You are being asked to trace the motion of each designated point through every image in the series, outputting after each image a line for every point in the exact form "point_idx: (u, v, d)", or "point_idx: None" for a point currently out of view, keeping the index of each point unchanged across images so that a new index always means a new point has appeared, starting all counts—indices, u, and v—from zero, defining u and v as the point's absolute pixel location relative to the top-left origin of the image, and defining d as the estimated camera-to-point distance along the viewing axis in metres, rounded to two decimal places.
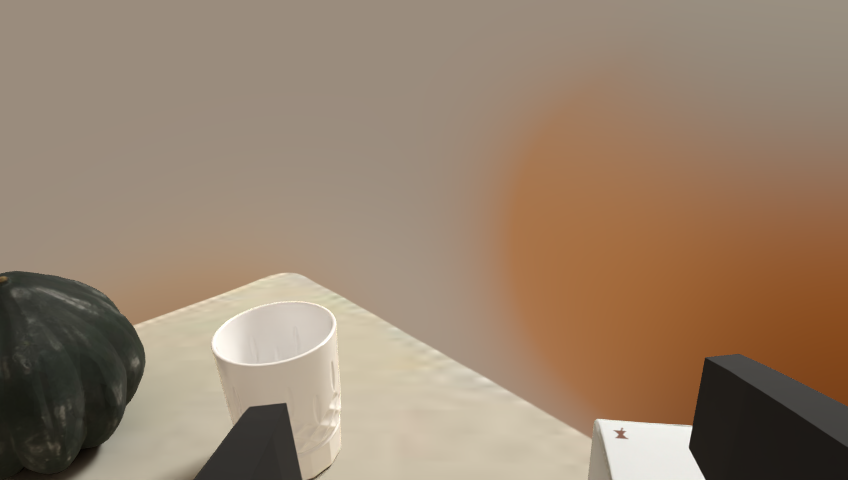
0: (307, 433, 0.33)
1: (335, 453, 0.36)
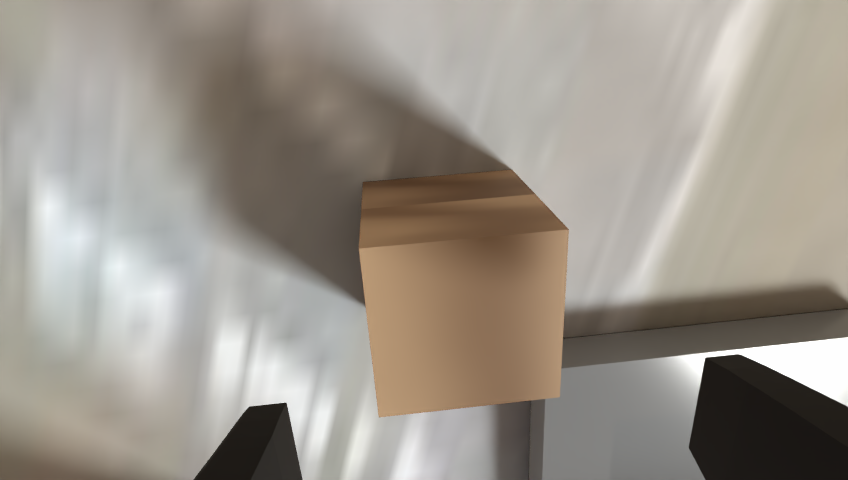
0: None
1: None
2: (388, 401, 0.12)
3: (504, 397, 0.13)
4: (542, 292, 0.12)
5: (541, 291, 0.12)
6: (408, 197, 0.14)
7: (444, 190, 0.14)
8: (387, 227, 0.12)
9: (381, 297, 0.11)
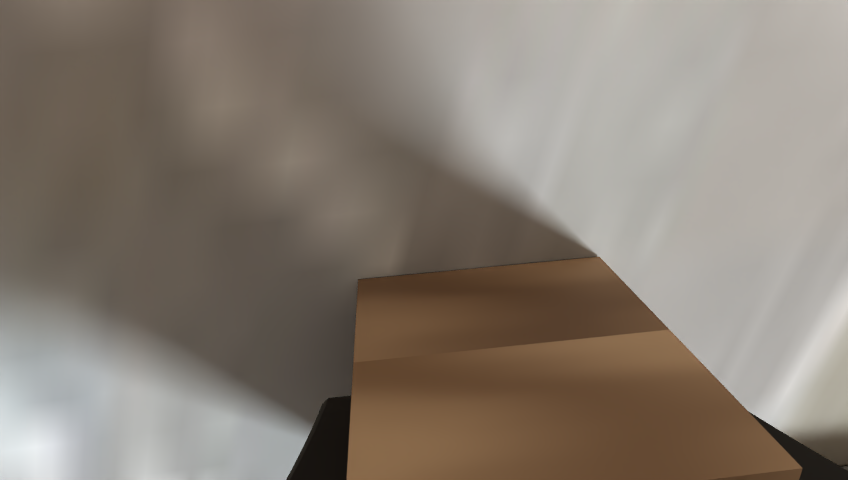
0: None
1: None
2: None
3: None
4: None
5: None
6: (438, 330, 0.08)
7: (499, 310, 0.08)
8: (406, 433, 0.06)
9: None
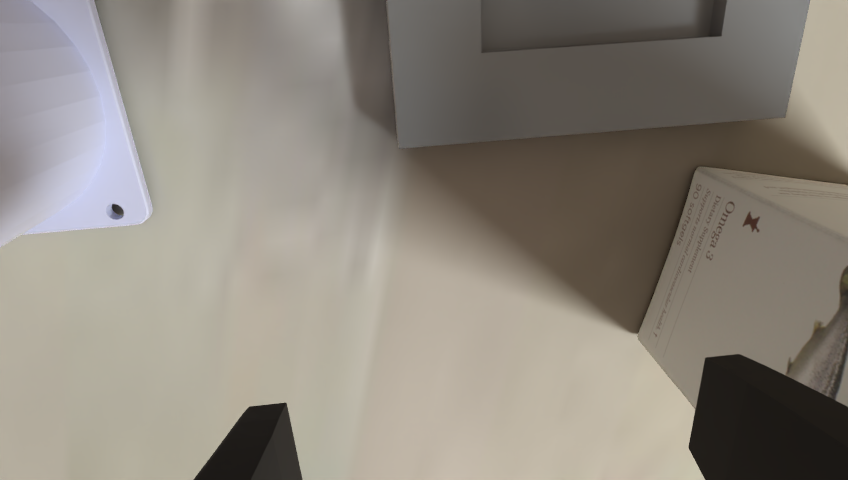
0: None
1: None
2: None
3: None
4: None
5: None
6: None
7: None
8: None
9: None
